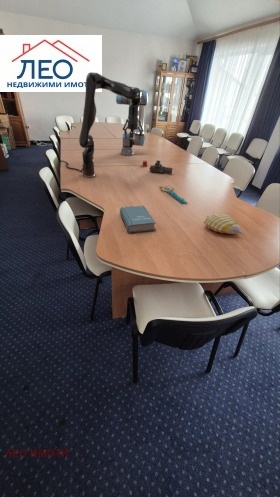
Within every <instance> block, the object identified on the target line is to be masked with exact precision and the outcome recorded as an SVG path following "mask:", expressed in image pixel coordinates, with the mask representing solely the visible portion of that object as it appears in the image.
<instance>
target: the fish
mask: <svg viewBox="0 0 280 497" xmlns="http://www.w3.org/2000/svg"><path fill="white" fill-rule="evenodd" d="M203 223H204V225H205V226H206V227H207V228H208V229H210V230H212V231H214V232H217V233H222V234H227V235H237V234H239V235H244V234H245V233H244V232H243V231H242V229H241V227H240V225H239V224H238V222H237V219H236V218H235V217H232V216H230V215H229V214H228V213H216V214H210V215H207V216H206V218H205V219H204V220H203Z"/></svg>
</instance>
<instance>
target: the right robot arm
mask: <svg viewBox="0 0 280 497" xmlns="http://www.w3.org/2000/svg"><path fill="white" fill-rule="evenodd" d="M140 91H141V100H140V104H139V112H138V129H137V130H135V139H134V145H133V146H136V147H137V146H138V147H144V145H145V143H146V135H145V130H144V125H145V111H146V110H145V109H146V107H147V104H149V93H148V91H147V90H144V89H140ZM115 103H116V105H125V106H129V105H130V104H131V100H130V99H128V98H126V97H124V96H120V95H117V94H116V95H115ZM128 130H129V129H128V118H126V119H125V123H124V125H123V127H122V131H124V133H123V134H122V147H121V150H120V154H121V155H123V156H133V155H134V148H133V147H130V141H129V136H130V134H129V133H130V131H129V132H128Z"/></svg>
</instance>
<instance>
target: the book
mask: <svg viewBox="0 0 280 497" xmlns="http://www.w3.org/2000/svg"><path fill="white" fill-rule="evenodd" d="M119 214H120V217H121V219H122V221H123V223H124V226H125V227H126V230H127V232H128V233H141V232H151V231H155V230H156V229H155V224H156V221H155V220H154V218H153V217H152V215H151V214H150V212H149V211H148V209H147V207H146V206H145V205H135V206H134V205H133V206H124V207H123V206H122V207H120V208H119Z"/></svg>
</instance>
